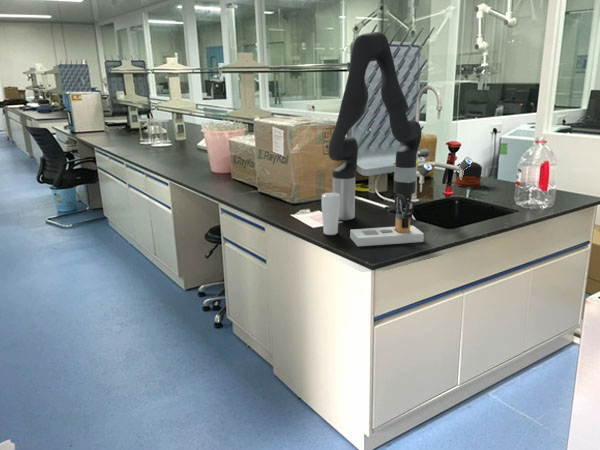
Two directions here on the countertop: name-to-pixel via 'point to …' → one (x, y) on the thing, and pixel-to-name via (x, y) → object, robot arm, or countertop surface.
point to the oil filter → (470, 176)
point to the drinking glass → (330, 212)
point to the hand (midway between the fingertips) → (402, 225)
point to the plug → (399, 224)
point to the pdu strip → (384, 236)
